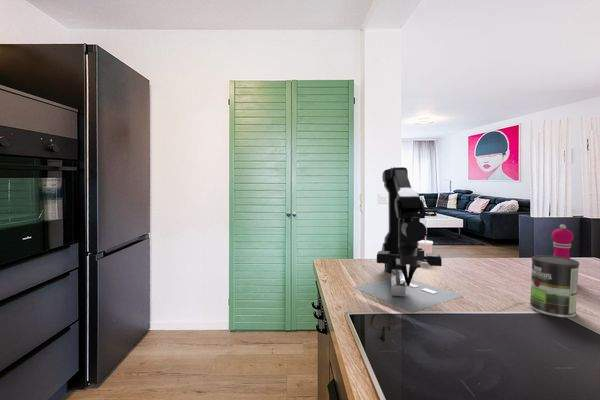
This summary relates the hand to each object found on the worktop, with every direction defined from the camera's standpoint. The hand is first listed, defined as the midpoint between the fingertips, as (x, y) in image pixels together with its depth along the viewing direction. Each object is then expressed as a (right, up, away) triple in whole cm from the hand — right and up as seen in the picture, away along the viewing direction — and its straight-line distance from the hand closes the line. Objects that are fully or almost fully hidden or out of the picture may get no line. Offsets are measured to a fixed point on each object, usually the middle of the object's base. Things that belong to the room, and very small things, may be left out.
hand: (408, 285), depth 103 cm
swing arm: (-2, -1, +4) cm, 5 cm away
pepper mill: (+58, -2, +13) cm, 59 cm away
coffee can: (+36, -4, -12) cm, 38 cm away
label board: (0, -3, +1) cm, 3 cm away
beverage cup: (+21, -1, +41) cm, 46 cm away
